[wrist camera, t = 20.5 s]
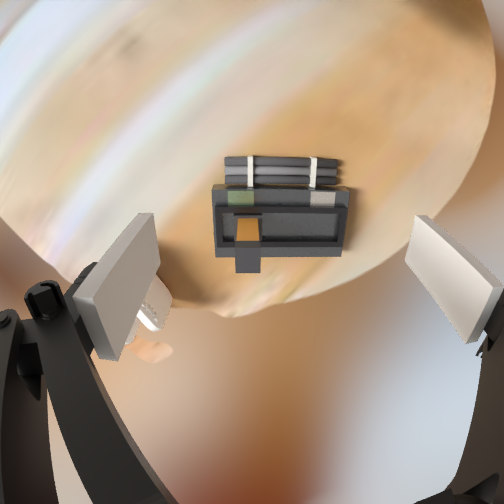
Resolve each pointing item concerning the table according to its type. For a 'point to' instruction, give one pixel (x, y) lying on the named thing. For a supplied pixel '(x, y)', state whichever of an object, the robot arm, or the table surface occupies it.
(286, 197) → the breaker panel
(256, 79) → the table surface
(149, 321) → the cable organizer
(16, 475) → the robot arm
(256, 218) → the breaker toggle
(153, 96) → the table surface
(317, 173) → the cord bundle
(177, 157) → the table surface
